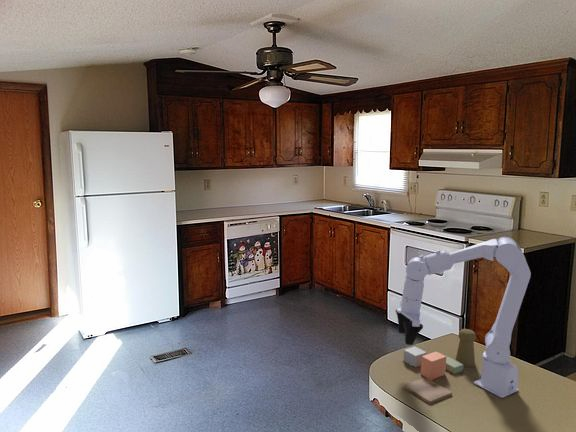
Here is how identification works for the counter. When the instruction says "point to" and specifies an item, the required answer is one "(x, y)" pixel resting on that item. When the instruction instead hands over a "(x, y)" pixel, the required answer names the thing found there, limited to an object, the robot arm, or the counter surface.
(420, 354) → the white square brick
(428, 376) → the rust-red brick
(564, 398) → the counter surface
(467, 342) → the cork
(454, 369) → the flat olive brick
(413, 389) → the walnut board
